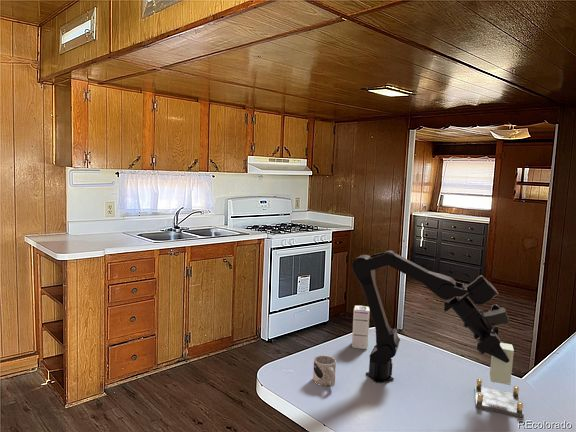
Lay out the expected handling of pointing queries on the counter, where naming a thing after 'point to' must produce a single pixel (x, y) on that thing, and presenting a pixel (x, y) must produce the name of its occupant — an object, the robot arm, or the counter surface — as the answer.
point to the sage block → (502, 366)
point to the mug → (324, 370)
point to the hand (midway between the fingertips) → (507, 358)
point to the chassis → (498, 400)
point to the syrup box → (360, 327)
